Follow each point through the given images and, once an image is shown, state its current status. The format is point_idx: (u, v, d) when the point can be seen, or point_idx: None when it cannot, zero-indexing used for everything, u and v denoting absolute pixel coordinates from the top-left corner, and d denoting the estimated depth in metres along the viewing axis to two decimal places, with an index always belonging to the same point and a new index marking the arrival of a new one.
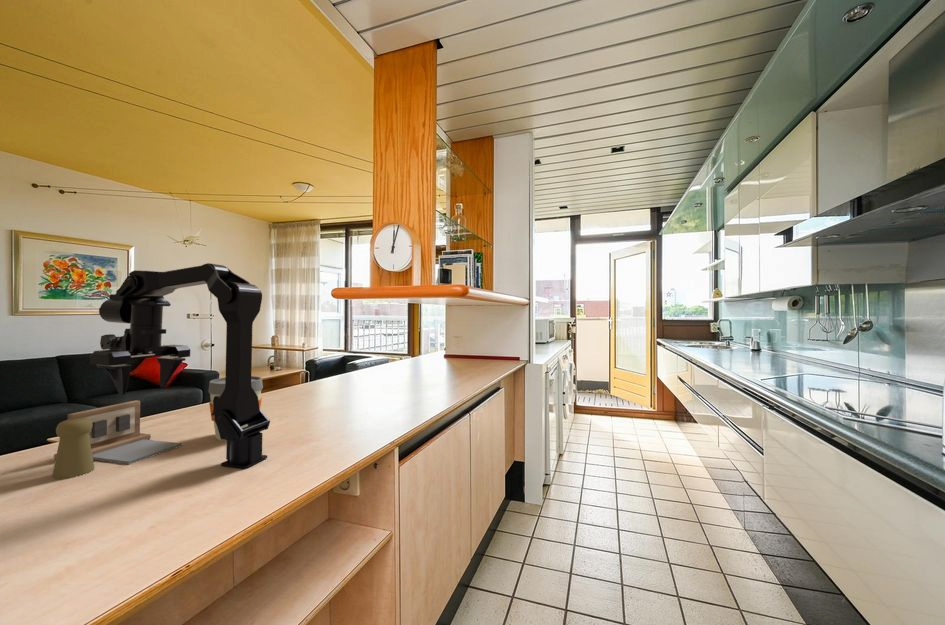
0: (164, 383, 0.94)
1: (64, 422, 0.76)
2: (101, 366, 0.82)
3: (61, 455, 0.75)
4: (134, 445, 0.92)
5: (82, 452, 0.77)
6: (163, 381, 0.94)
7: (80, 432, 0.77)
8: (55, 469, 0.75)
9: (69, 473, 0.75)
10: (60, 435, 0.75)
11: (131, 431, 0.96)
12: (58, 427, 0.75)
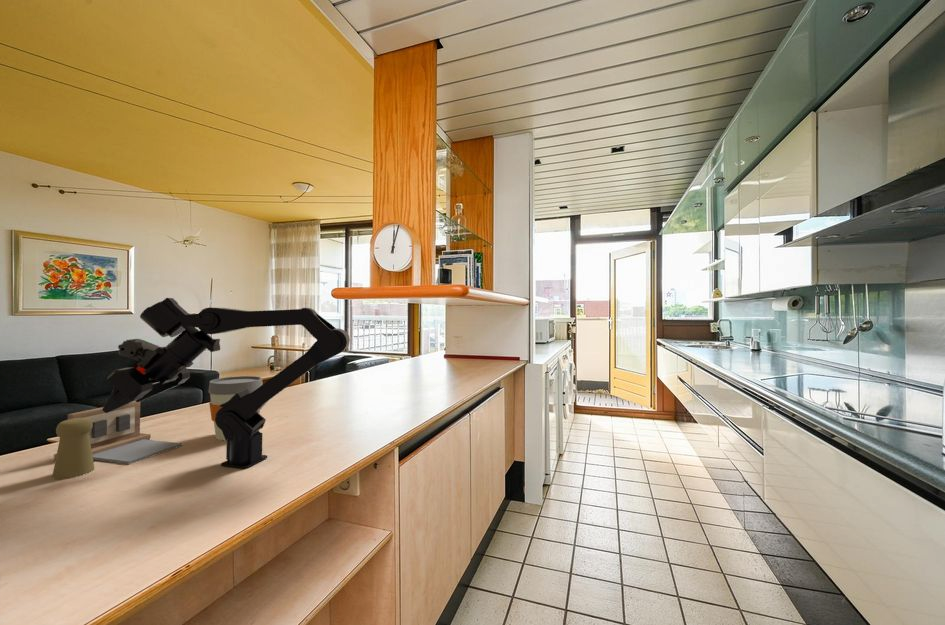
0: (141, 399, 0.84)
1: (64, 422, 0.76)
2: (115, 385, 0.72)
3: (61, 455, 0.75)
4: (134, 445, 0.92)
5: (82, 452, 0.77)
6: (142, 397, 0.84)
7: (80, 432, 0.77)
8: (55, 469, 0.75)
9: (69, 473, 0.75)
10: (60, 435, 0.75)
11: (131, 431, 0.96)
12: (58, 427, 0.75)
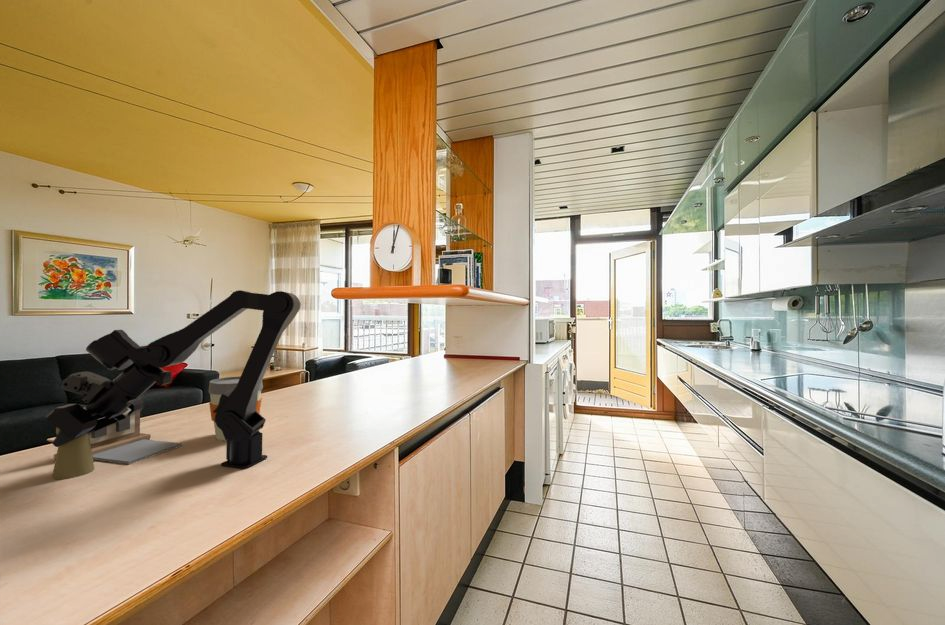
0: None
1: None
2: None
3: (61, 455, 0.75)
4: (134, 445, 0.92)
5: (82, 452, 0.77)
6: None
7: None
8: (55, 469, 0.75)
9: (69, 473, 0.75)
10: None
11: (131, 431, 0.96)
12: None
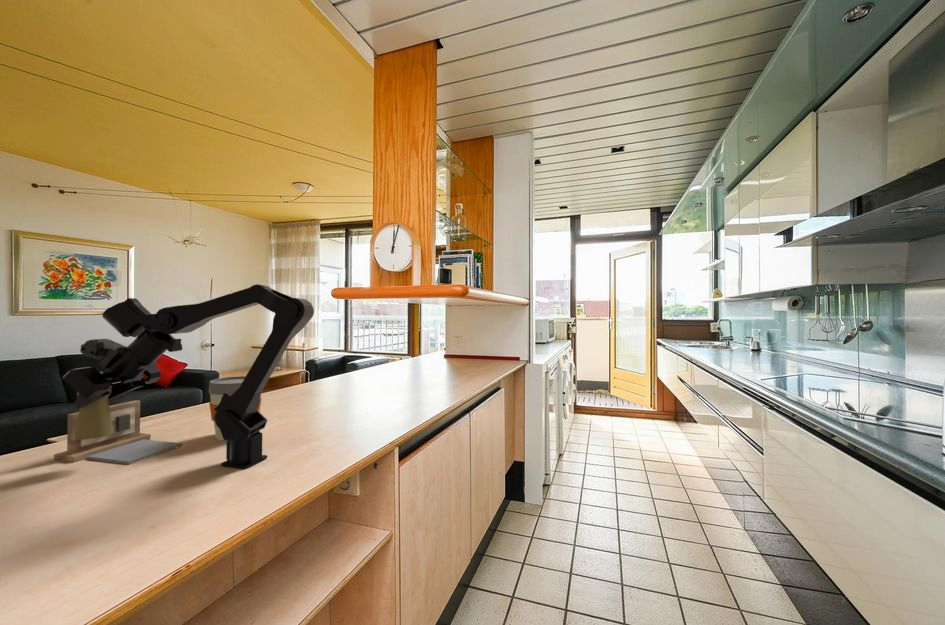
0: None
1: None
2: None
3: (81, 417, 0.79)
4: (134, 445, 0.92)
5: (100, 415, 0.80)
6: None
7: None
8: (76, 430, 0.79)
9: (88, 434, 0.79)
10: None
11: (131, 431, 0.96)
12: None
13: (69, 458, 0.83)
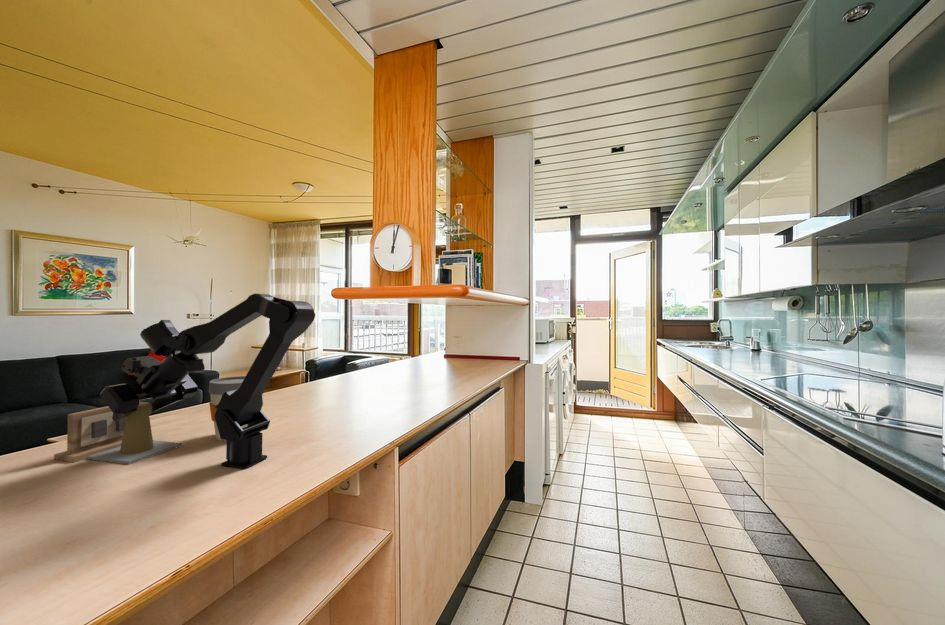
0: (153, 410, 0.93)
1: None
2: None
3: (124, 433, 0.87)
4: None
5: (139, 433, 0.88)
6: (153, 408, 0.93)
7: (138, 414, 0.87)
8: (121, 444, 0.87)
9: (128, 450, 0.86)
10: None
11: None
12: None
13: (69, 458, 0.83)
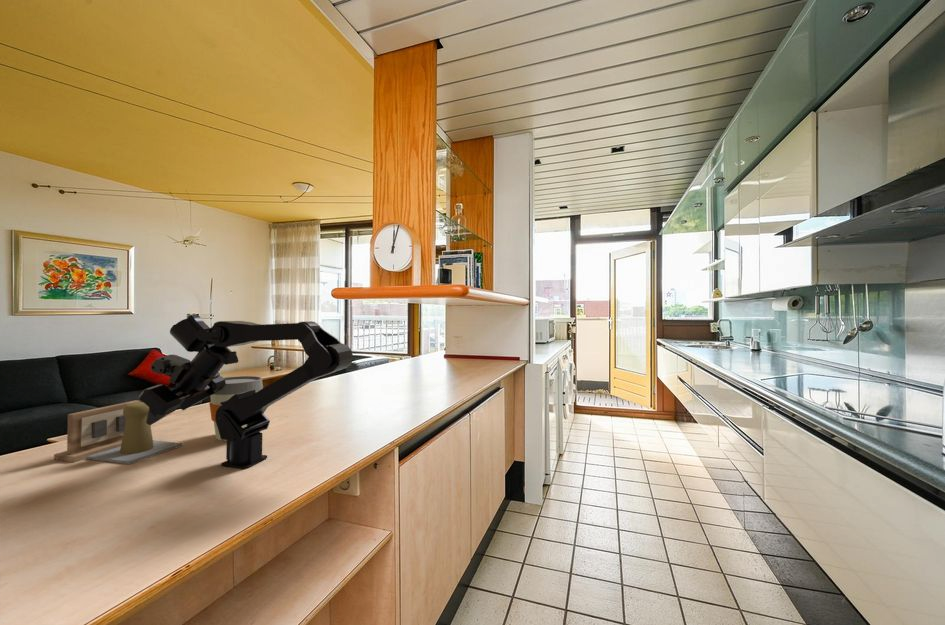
0: (186, 407, 0.91)
1: (128, 405, 0.88)
2: None
3: (124, 433, 0.87)
4: None
5: (139, 433, 0.88)
6: (186, 406, 0.91)
7: (138, 414, 0.87)
8: (121, 445, 0.87)
9: (128, 450, 0.86)
10: (124, 416, 0.87)
11: None
12: (124, 409, 0.87)
13: (69, 458, 0.83)
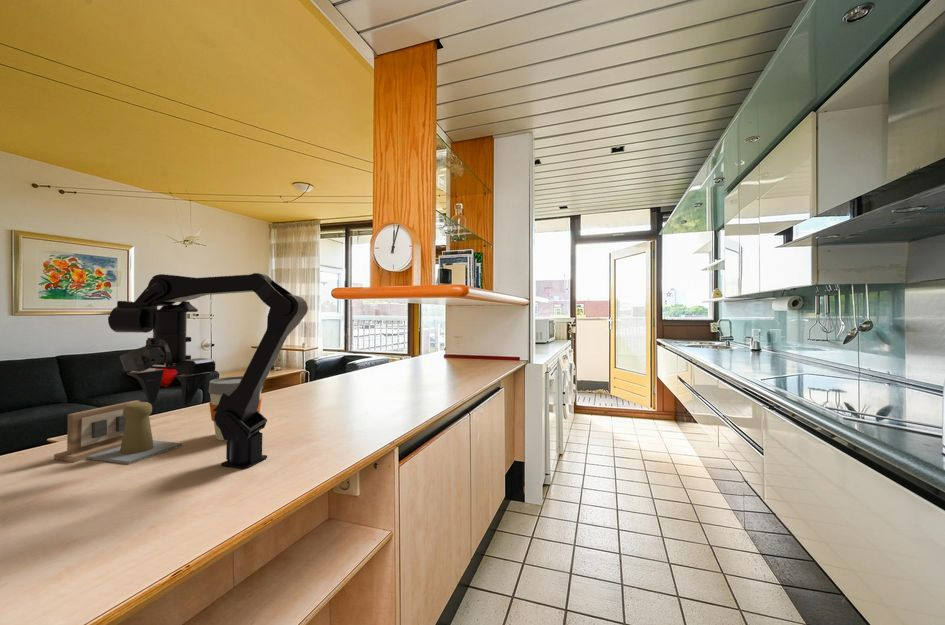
0: (156, 397, 0.84)
1: (128, 405, 0.88)
2: (194, 376, 0.80)
3: (124, 433, 0.87)
4: None
5: (139, 433, 0.88)
6: (155, 396, 0.84)
7: (138, 414, 0.87)
8: (121, 445, 0.87)
9: (128, 450, 0.86)
10: (124, 416, 0.87)
11: None
12: (123, 409, 0.87)
13: (69, 458, 0.83)
